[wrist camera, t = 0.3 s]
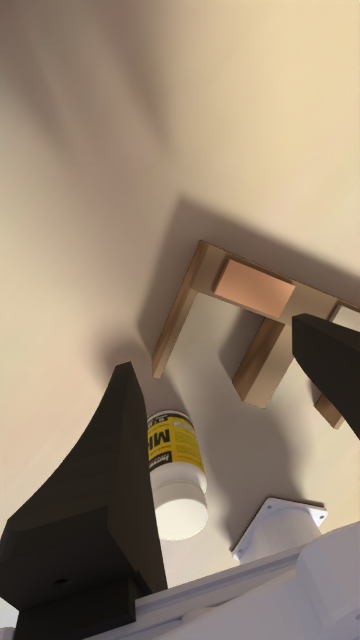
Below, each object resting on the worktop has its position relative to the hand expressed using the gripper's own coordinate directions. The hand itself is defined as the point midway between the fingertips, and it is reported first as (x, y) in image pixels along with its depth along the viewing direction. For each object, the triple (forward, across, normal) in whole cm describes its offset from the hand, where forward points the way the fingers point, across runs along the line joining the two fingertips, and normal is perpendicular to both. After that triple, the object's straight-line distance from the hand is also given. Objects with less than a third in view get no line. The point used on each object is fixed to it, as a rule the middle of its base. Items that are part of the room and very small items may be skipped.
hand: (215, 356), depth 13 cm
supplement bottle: (+9, +4, +14) cm, 17 cm away
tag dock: (+9, -6, +7) cm, 13 cm away
